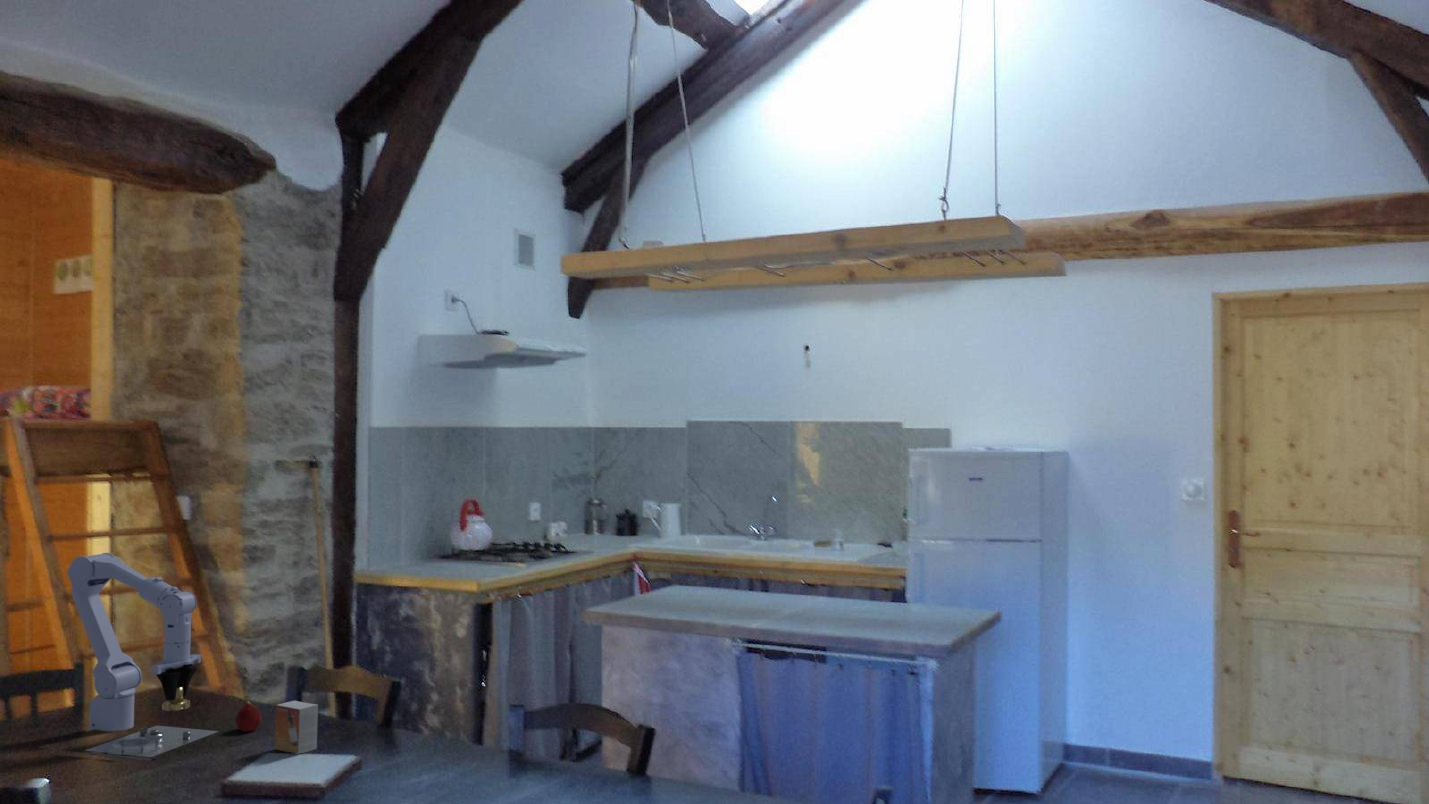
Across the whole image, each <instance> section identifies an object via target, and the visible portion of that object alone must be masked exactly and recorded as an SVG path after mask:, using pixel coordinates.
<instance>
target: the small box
mask: <svg viewBox="0 0 1429 804" xmlns="http://www.w3.org/2000/svg"><path fill="white" fill-rule="evenodd" d="M318 715H319V704H316V703H310V702H309V703H308V702H304V701H298V700H295V699H294V700H291V701H287V702H284V703H278V704H276V705H275V725H274V727H275V728H274V732H275V733H274V750H277V751H281V752H285V753H289V752H293V753H302V754H305V753H307V752H308V753H309V752H311V751H314V750H317V747H318V746H317V743H318V719H319V717H318ZM293 753H292V754H293Z"/></svg>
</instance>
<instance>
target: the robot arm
mask: <svg viewBox="0 0 1429 804" xmlns="http://www.w3.org/2000/svg"><path fill="white" fill-rule="evenodd" d="M66 574H67V576H68V578H69V581H70V585H71V597H72V599H73V602H74V604H75V607H76V609H77V613H78V615H79V618H80V620H81V622H82V625H83V627H84V630H85V633H86V636H87V637H88V638H87V639H88V640H89V643H90V645H91V647H92V650H93V653H94V655H95V659H96V660H97V663H96V665H95V666H94V668H93V669H92V675H93V679H94V680H93V681H94V682H93V686H94V690H95V691H96V693H97V695H95V696H94V697H93V698H92V700H91V702H90V704H89V722H88V723H89V725H88V730H86V732H90V731H94V730H97V731H102V732H120V731H127V730H129V729H132V728H134V726H135V725H134V724H135V722H134V721H135V693H136V692H137V688H138V687H139V686H140V685H141V683H142V680H143V673H142V671H141V668H140V667H139V666H138V665H137V664H136V663H135V662H134V660H133V657H132V656H130V655H128V654H127V653H125V652H123V651H122V648H121V645H120V644H119V641H118V639H117V636H116V634H115V632H114V628H113V626H112V623H111V621H110V619H109V615H108V614H107V611H106V608H105V606H104V603H103V601H102V598H101V597H100V593H101V592H102V590H103V588H104V587H105V586H106V585H107V584H108V583H109V581H110V580H112V579H114V580H116V581H118V582H120V583H122V584H123V585H126V586H128V587H130V588H132V589H134V590H137V591H138V596H139V598H141V599H142V600H144V601H146V602H148V603H149V604H152V605H153V606H155V607H157V608H158V609H159V611H160V613H161V614H162V616H163V622H164V643H163V644H164V646H163V647H164V648H163V660H162V661H160V662H158V663H156V664H153V665H151V669H150V670H151V671H150V674H151V675H156V677H157V678H158V680H159V682H160V684H161V686H162V690H163V694H164V698H165V700H166V701H169V700H175V697H176V690H177V686H183V698H184V697H185V698H186V696H187V693H188V689H189V686H190V683H191V680H192V678H193V676H194V674H195V673H196V671H197V665H194V664H200V663H202V654H198V653H197V654H196V653H194V654H191V640H192V639H191V638H192V637H191V636H192V635H191V634H192V631H191V630H192V613H194V611H195V610H196V609H197V606H198V601H197V597H196V595H195V594H194V593H193V592H192V591H191V590H188V589H185V590H179V588H178V587H177V586H172V585H170V584H168V583H167V582H164V578H162V577H160V576H151V577H148V578H147V577H146V576H145V575H142V574H141V573H140V572H138V571H137V570H136V569H134V568H133V567H132V566H131V567H130V566H129V565H127V564H126V563H124V562H123V561H122V559H121V557H119V556H115V555H114V554H112V553H110V552H103V553H101V554H100V553H98V554H91V555H81V556H80V555H79V556H77V557H75V558H74V559H73V560H72V561H71V563H70V565H69V567H68V570H67V571H66Z"/></svg>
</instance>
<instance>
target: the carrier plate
mask: <svg viewBox="0 0 1429 804" xmlns="http://www.w3.org/2000/svg"><path fill="white" fill-rule="evenodd" d="M216 733H219V730H208V729H198V728H196V729H195V728H187V727H185V728H184V727H175V726H165V725H164V726H163V725H155V726H151V727H149V728H148V727H147V726H146V727H140V728H139V731H137V732H134V733H130V734H129V735H126V736H123V737H120V738H116V739H114V740H111V741H108V742H105V743H102V744H99V745H97V746H94V747H91V748H87V749H85V750H84V755H85V754H90V755H89V756H92V755H100V756H99V757H102V756H105V758H114V759H123V760H136V761H142V762H143V761H144V762H154V761H156V760H157V758H153V757H156V756H158V755H160V754H163V753H166V752H168V751H171V750H173V749H177V748H179V747H181V746H184V745H187V744H189V743H192V742H195V741H198V740H201V739H202V738H205V737H208V736H211V735H214V734H216ZM97 752H98V753H97ZM106 753H107V754H106ZM136 756H137V757H136Z"/></svg>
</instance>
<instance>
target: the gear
mask: <svg viewBox="0 0 1429 804" xmlns="http://www.w3.org/2000/svg"><path fill="white" fill-rule="evenodd" d="M161 705H162V706H161V709H162V711H164V710H165V712H170V711H171V712H172V711H175V712H177V711H180V710H187V709H189V708H190V707H191V700H190V699H189V700H188V699H187V698H185V699H184V697H183V686H177V690H176V697H175V700H166V701H164V702H163V703H161Z"/></svg>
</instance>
